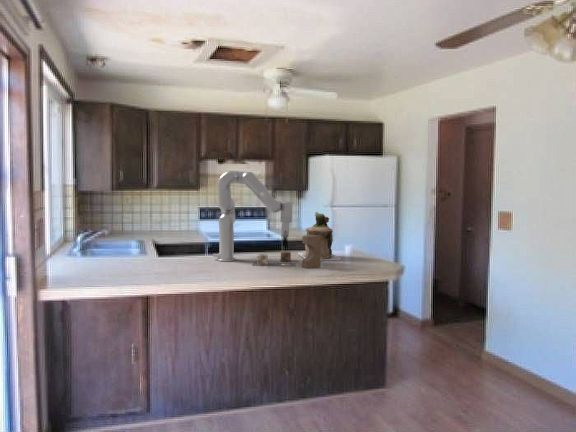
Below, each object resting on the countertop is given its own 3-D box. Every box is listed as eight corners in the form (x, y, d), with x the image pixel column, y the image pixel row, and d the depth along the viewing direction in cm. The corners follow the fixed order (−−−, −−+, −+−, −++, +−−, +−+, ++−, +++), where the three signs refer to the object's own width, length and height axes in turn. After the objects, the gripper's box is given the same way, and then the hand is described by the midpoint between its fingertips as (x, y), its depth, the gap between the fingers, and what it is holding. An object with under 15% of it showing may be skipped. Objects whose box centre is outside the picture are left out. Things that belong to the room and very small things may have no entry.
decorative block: (307, 268, 305) (307, 236, 303) (301, 267, 310) (301, 235, 308) (320, 267, 312) (321, 235, 310) (315, 265, 316) (315, 234, 315)
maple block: (257, 265, 314) (257, 255, 314) (257, 263, 321) (257, 254, 320) (267, 265, 314) (267, 255, 314) (267, 263, 321) (267, 254, 320)
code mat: (251, 266, 312) (251, 265, 312) (253, 262, 324) (253, 262, 324) (296, 266, 312) (296, 266, 312) (295, 263, 324) (295, 262, 324)
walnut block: (280, 262, 328) (280, 253, 328) (281, 260, 335) (281, 251, 334) (290, 262, 328) (290, 253, 328) (290, 260, 335) (290, 251, 334)
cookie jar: (306, 261, 330) (307, 214, 327) (297, 255, 354) (297, 211, 351) (341, 260, 336) (342, 213, 333) (329, 254, 360) (330, 210, 357)
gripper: (280, 218, 338) (279, 243, 339) (280, 221, 321) (279, 247, 322) (291, 219, 338) (290, 243, 339) (291, 221, 321) (290, 247, 322)
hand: (284, 245), depth 331 cm, fingers open, 9 cm apart
